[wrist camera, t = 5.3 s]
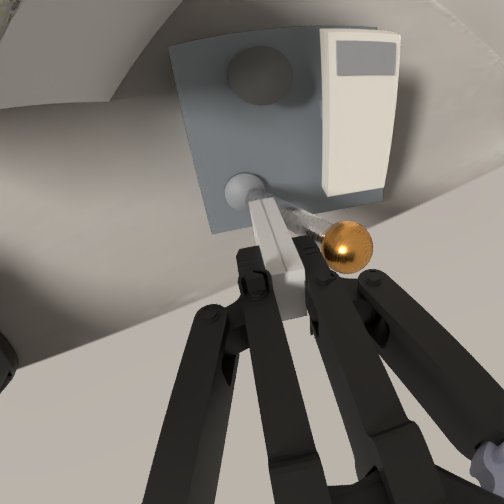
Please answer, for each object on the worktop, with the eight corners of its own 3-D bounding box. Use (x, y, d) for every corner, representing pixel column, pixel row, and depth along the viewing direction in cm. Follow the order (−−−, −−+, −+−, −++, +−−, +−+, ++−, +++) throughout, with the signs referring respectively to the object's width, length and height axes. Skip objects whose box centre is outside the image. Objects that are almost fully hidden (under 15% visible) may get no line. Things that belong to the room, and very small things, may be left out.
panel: (210, 210, 27) (212, 249, 22) (174, 49, 19) (163, 44, 14) (362, 182, 27) (394, 213, 22) (352, 29, 19) (392, 26, 14)
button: (232, 105, 18) (235, 110, 16) (222, 52, 16) (224, 50, 14) (287, 97, 18) (296, 101, 16) (280, 44, 16) (288, 42, 14)
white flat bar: (321, 186, 21) (328, 198, 20) (319, 28, 13) (329, 32, 12) (376, 177, 21) (385, 188, 20) (389, 31, 13) (402, 35, 12)
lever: (235, 218, 21) (347, 292, 14) (228, 184, 20) (350, 247, 13) (266, 204, 22) (380, 267, 15) (261, 171, 21) (385, 224, 14)
